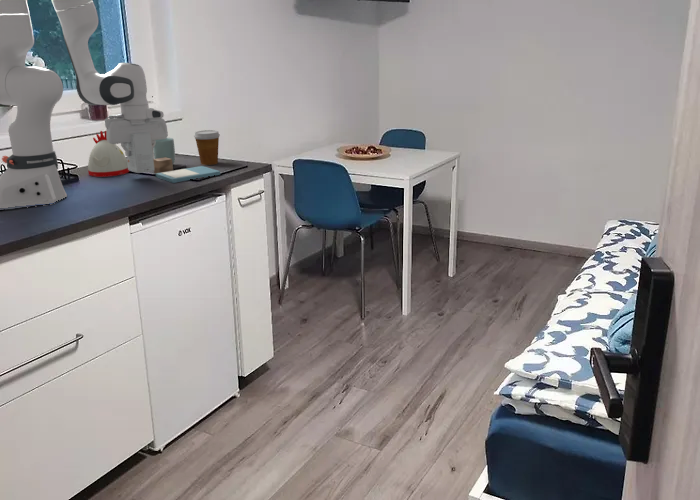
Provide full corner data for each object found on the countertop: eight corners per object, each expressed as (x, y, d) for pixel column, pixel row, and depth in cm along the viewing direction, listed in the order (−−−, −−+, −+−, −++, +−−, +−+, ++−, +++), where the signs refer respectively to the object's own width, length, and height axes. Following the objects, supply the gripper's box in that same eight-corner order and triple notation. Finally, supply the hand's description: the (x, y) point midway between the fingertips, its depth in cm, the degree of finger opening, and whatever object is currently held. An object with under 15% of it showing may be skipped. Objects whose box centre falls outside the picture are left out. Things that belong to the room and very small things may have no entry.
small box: (155, 171, 216) (151, 132, 212) (136, 173, 213) (132, 134, 209) (145, 168, 222) (141, 130, 218) (127, 170, 219) (123, 131, 215)
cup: (157, 164, 242) (153, 138, 239) (177, 163, 243) (175, 137, 240) (153, 168, 235) (150, 141, 232) (174, 167, 236) (171, 140, 233)
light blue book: (172, 182, 212) (172, 178, 211) (156, 176, 221) (155, 172, 221) (220, 174, 223) (220, 170, 222) (202, 169, 232) (202, 165, 232)
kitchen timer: (121, 176, 223) (115, 133, 218) (82, 177, 223) (75, 134, 218) (134, 168, 236) (129, 127, 231) (98, 168, 237) (91, 128, 232)
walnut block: (160, 175, 224) (158, 161, 223) (154, 173, 228) (152, 159, 226) (173, 173, 227) (171, 159, 226) (167, 170, 231) (165, 157, 229)
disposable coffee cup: (195, 166, 237) (192, 134, 233) (197, 161, 246) (194, 130, 242) (221, 165, 238) (218, 133, 234) (222, 160, 247) (220, 129, 243)
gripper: (107, 116, 203) (112, 159, 207) (167, 112, 216) (171, 152, 220) (100, 114, 207) (105, 157, 212) (159, 110, 220) (163, 150, 224)
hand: (139, 154), depth 216 cm, fingers closed on small box, 6 cm apart
